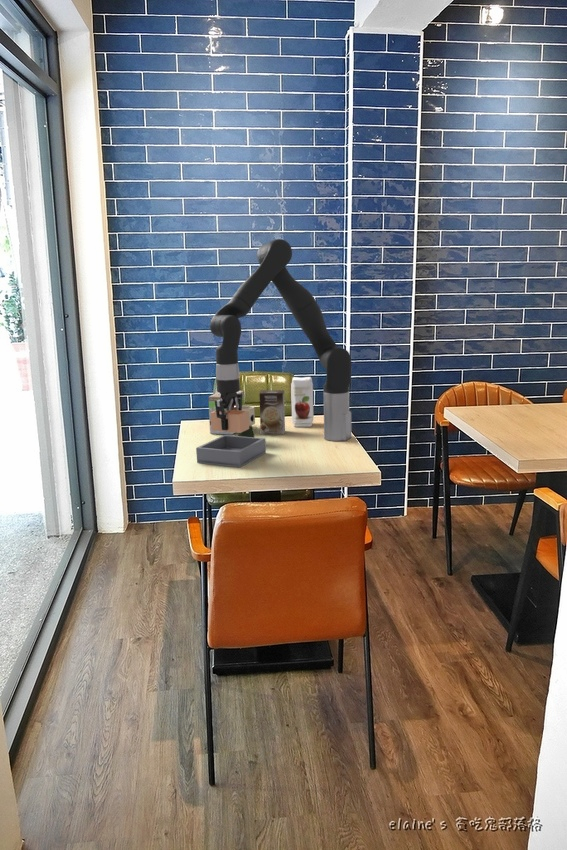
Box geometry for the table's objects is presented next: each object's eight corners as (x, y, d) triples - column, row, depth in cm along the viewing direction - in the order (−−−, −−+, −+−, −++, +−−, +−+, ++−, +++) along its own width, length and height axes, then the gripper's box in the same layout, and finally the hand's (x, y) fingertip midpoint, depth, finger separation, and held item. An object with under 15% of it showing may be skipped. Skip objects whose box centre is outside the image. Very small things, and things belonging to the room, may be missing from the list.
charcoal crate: (265, 452, 222) (265, 438, 221) (240, 467, 206) (239, 452, 205) (224, 448, 229) (224, 434, 227) (197, 462, 213) (196, 447, 212)
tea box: (234, 435, 248) (232, 396, 244) (209, 434, 250) (207, 396, 247) (246, 426, 262) (244, 389, 258) (223, 425, 264) (220, 389, 261)
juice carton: (292, 423, 264) (291, 376, 259) (314, 422, 263) (312, 376, 259) (291, 427, 256) (290, 379, 252) (313, 427, 256) (312, 379, 251)
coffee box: (259, 435, 246) (258, 393, 243) (262, 431, 252) (260, 390, 249) (284, 434, 245) (282, 392, 242) (285, 430, 252) (284, 389, 248)
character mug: (254, 446, 231) (253, 410, 228) (234, 446, 231) (233, 410, 228) (256, 438, 241) (255, 404, 238) (237, 439, 242) (235, 404, 239)
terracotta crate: (249, 428, 216) (248, 411, 214) (240, 432, 210) (239, 414, 209) (220, 426, 220) (219, 408, 219) (211, 430, 215) (210, 412, 214)
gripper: (226, 381, 203) (229, 433, 207) (248, 374, 216) (250, 423, 220) (206, 380, 207) (209, 431, 210) (228, 373, 219) (231, 422, 223)
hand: (230, 427), depth 215 cm, fingers closed on terracotta crate, 6 cm apart
